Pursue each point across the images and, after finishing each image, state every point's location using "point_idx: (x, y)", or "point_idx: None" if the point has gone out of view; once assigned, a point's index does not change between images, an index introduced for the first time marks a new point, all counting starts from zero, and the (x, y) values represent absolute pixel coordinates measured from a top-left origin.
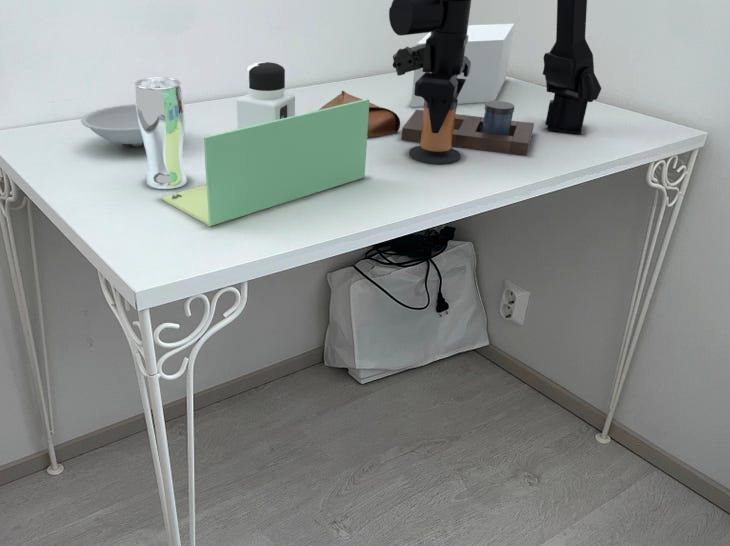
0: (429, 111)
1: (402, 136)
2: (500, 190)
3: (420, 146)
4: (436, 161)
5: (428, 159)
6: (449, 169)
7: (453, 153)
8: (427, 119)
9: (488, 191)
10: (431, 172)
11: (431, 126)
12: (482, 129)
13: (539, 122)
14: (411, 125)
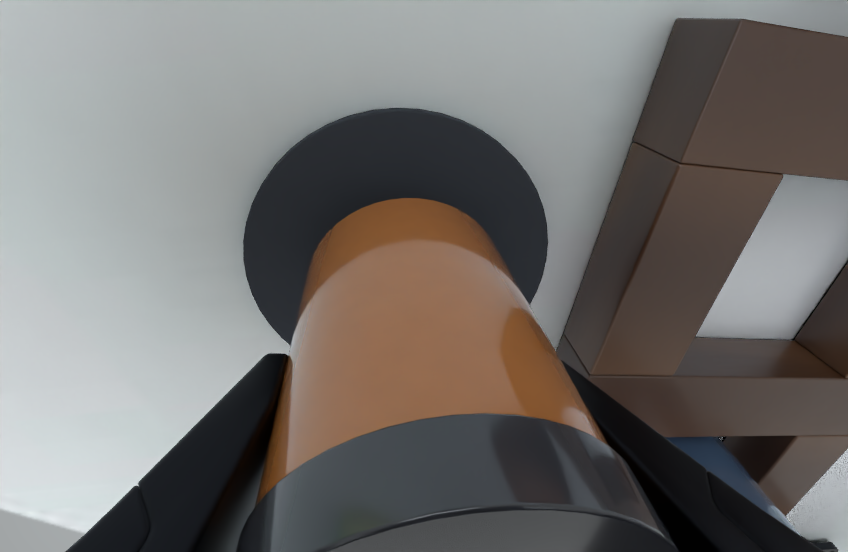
0: (98, 526)
1: (691, 26)
2: (68, 519)
3: (507, 177)
4: (259, 291)
5: (273, 248)
6: (210, 347)
7: None
8: (304, 374)
9: (21, 493)
10: (105, 276)
11: (236, 387)
12: (688, 450)
13: (834, 522)
14: (794, 96)
